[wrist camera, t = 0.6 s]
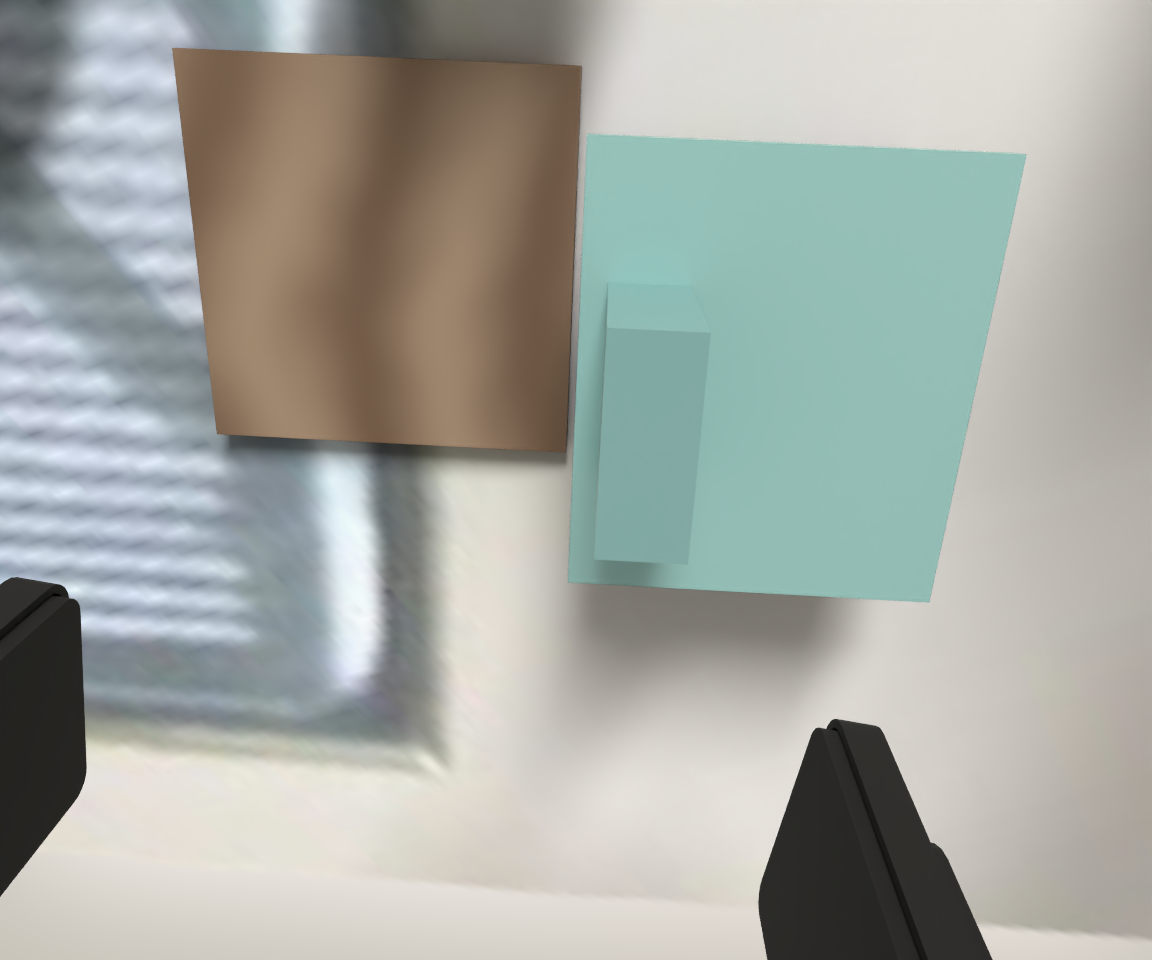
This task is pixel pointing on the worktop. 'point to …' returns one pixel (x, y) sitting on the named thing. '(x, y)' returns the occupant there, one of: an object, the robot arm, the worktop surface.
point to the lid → (778, 360)
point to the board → (384, 244)
